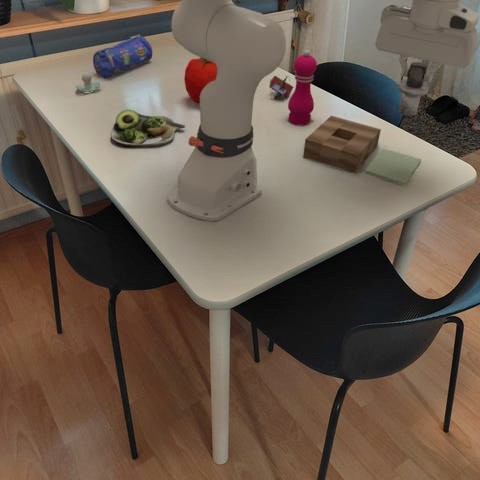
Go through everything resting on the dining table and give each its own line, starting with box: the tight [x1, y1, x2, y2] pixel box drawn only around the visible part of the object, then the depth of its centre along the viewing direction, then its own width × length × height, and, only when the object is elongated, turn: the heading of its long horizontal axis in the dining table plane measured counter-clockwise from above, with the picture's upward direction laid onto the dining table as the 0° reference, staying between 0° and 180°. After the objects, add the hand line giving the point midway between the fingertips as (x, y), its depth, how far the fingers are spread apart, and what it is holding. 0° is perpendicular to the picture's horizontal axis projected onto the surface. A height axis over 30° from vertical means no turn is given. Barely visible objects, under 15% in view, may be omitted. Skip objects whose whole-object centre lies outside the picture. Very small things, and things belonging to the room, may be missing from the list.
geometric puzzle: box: [268, 75, 295, 100], centre depth 154 cm, size 7×7×8 cm
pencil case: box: [92, 34, 154, 79], centre depth 167 cm, size 22×9×10 cm, turn 147°
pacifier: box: [75, 72, 101, 93], centre depth 154 cm, size 7×6×6 cm
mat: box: [364, 148, 422, 186], centre depth 125 cm, size 13×10×1 cm
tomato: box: [183, 57, 217, 105], centre depth 147 cm, size 13×13×13 cm
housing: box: [302, 115, 382, 174], centre depth 129 cm, size 16×14×5 cm
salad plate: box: [110, 109, 186, 148], centre depth 134 cm, size 19×18×5 cm
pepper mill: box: [287, 49, 318, 126], centre depth 137 cm, size 7×7×20 cm
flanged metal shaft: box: [397, 61, 430, 117], centre depth 112 cm, size 6×6×11 cm
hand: (415, 78), depth 110 cm, fingers closed on flanged metal shaft, 4 cm apart
